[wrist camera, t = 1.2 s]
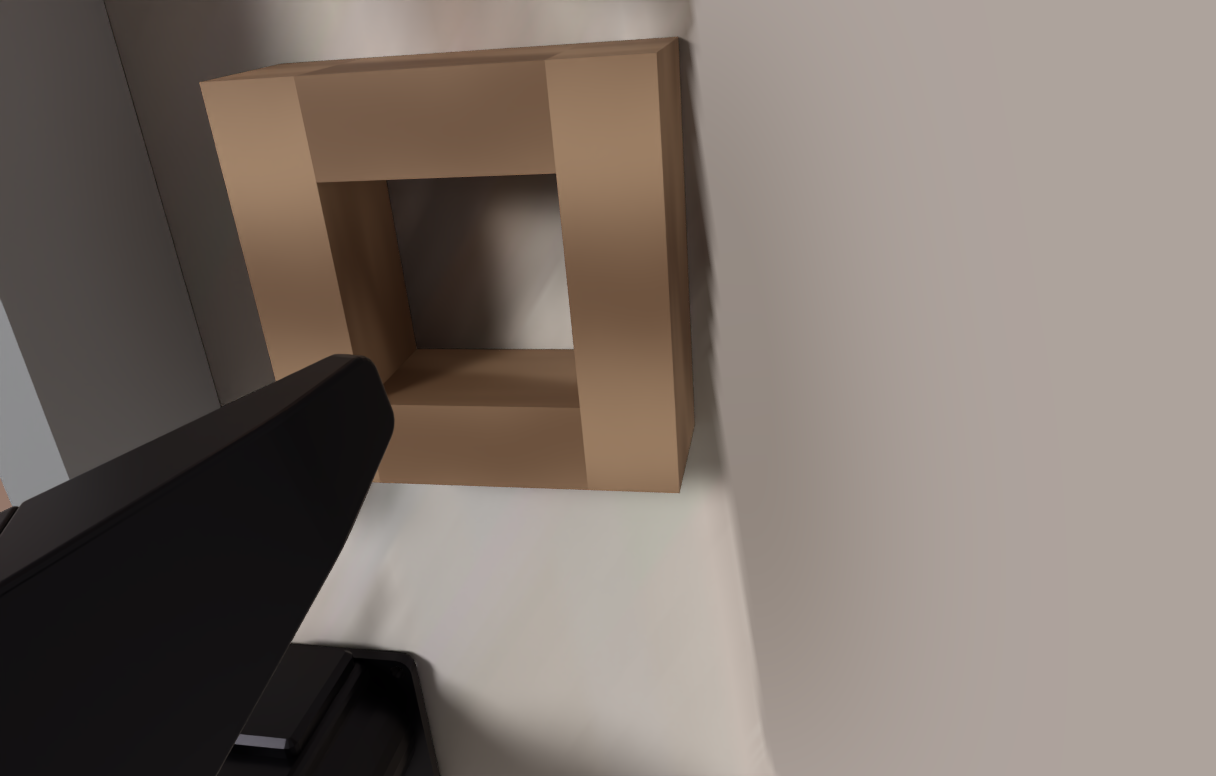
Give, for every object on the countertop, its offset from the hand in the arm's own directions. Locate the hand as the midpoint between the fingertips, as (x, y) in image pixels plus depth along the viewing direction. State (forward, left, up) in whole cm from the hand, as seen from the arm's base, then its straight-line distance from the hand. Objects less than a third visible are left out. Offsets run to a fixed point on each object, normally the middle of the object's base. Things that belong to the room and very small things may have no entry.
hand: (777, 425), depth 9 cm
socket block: (-3, +8, -14) cm, 16 cm away
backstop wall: (0, +18, -14) cm, 23 cm away
